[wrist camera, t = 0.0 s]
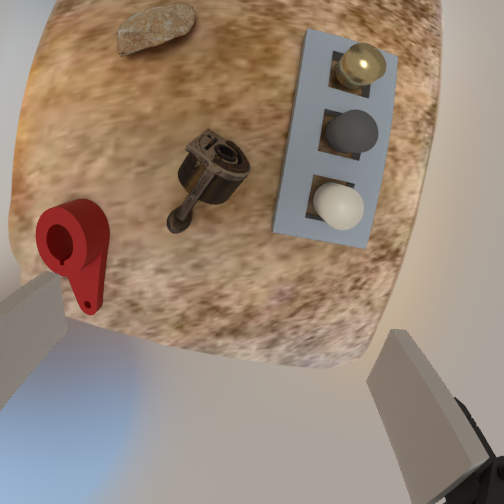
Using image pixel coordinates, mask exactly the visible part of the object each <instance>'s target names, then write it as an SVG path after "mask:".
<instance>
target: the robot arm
mask: <svg viewBox="0 0 504 504" xmlns="http://www.w3.org/2000/svg"><path fill="white" fill-rule="evenodd" d="M67 332H68V329H67V323H66V318H65V312H64V306H63V299H62V292H61V285H60V276H59V274H57V273H53V272H50V271H45V272H43V273H42V274H40V275H39V276H37V277H36V278H34V279H33V280H31V281H30V282H28V283H27V284H25V285H24V286H23V287H21V288H20V289H18V290H17V291H16V292H14V293H13V294H11V295H10V296H9V297H7V298H6V299H4V300H3V301H2V302H0V411H1V410H2V408H3V407H4V406H5V404H6V403H7V402H8V400H9V399H10V398H11V397H12V395H13V394H14V393H15V392H16V390H17V389H18V388H19V386H20V385H21V384H22V383H23V382H24V381H25V379H26V378H27V377H28V376H29V375H30V373H31V372H32V371H33V370H34V368H35V367H36V366H37V365H38V364H39V363H40V362H41V360H42V359H43V358H44V357H45V356H46V355H47V354H48V352H49V351H50V350H51V349H52V348H53V347H54V346H55V345H56V344H57V342H58V341H59V340H60V339H61V338H62V337H63V336H64V335H65V334H66V333H67ZM366 382H367V384H368V387H369V389H370V391H371V394H372V396H373V399H374V401H375V404H376V406H377V409H378V411H379V414H380V416H381V419H382V421H383V424H384V426H385V429H386V432H387V434H388V436H389V439H390V442H391V445H392V447H393V450H394V453H395V455H396V458H397V461H398V464H399V467H400V469H401V472H402V475H403V478H404V481H405V483H406V487H407V490H408V493H409V495H410V498H411V501H412V504H435V503H436V502H438V501H439V500H441V499H442V498H443V497H445V498H446V502H445V503H443V504H504V456H500V457H496V456H495V454H494V453H493V451H492V449H491V447H490V446H489V444H488V443H487V440H486V439H485V437H484V436H483V434H482V432H481V430H480V429H479V427H478V426H476V422H475V421H474V419H473V418H471V414H470V413H469V412H468V410H467V408H466V407H465V405H463V404H462V403H461V402H460V401H459V400H458V399H457V398H456V397H453V396H452V394H451V393H450V391H449V390H448V389H447V387H446V385H445V384H444V382H443V381H442V380H441V378H440V377H439V375H438V374H437V372H436V371H435V369H434V368H433V367H432V365H431V364H430V362H429V361H428V359H427V358H426V356H425V355H424V354H423V353H422V351H421V350H420V348H419V347H418V345H417V344H416V343H415V341H414V340H413V339H412V337H411V336H410V335H409V333H408V332H407V331H406V330H399V329H391V330H390V332H389V334H388V337H387V339H386V341H385V343H384V346H383V348H382V350H381V352H380V354H379V356H378V358H377V360H376V363H375V365H374V367H373V369H372V371H371V373H370V375H369V376H368V378H367V380H366Z"/></svg>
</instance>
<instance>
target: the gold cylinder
mask: <svg viewBox="0 0 504 504" xmlns="http://www.w3.org/2000/svg"><path fill="white" fill-rule="evenodd" d="M385 72H386V61H385V58H384V56H383V55H382V53H381V52H380V51H379V50H378V49H377V48H375V47H374V46H372V45H370V44H367V43H356V44H354V45H352V46H351V47H350V48H349V49H348V50H347V52H346V53H345V54H344V55H343V56H342V57H341V58H340V59H339V61H338V62H337V63H336V66H335V74H336V77H337V79H338V80H339V82H340V83H341V84H342V85H344V86H345V87H347V88H349V89H353V90H359V89H362V88H364V87H366V86H368V85H369V84H371V83H372V82H374V81H376V80H378V79H379V78H381V77H382V76H383V75H384V74H385Z"/></svg>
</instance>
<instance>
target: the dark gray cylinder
mask: <svg viewBox="0 0 504 504" xmlns="http://www.w3.org/2000/svg"><path fill="white" fill-rule="evenodd" d="M378 134H379V133H378V127H377V124H376V122H375V120H374V119H373V118H372V117H371V116H370V115H369V114H368V113H366V112H365V111H362V110H357V109H354V110H349V111H347V112H345V113H343V114H341V115H339V116H337V117H335V118H333V119H332V120H331V121H330V122H329V123H328V125H327V127H326V139H327V141H328V143H329V145H330V146H331V147H332V148H333V149H334V150H336V151H338V152H341V153H361V152H366V151H369V150H370V149H372V148H373V147H374V146H375V144H376V142H377V140H378Z"/></svg>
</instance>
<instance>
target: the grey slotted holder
mask: <svg viewBox="0 0 504 504" xmlns="http://www.w3.org/2000/svg"><path fill="white" fill-rule="evenodd" d="M356 43H359V42H356V41H353V40H350V39H347V38H343V37H340V36H336V35H333V34H329V33H325V32H321V31H317V30H312V29H308V28H307V31H306V33H305V36H304V39H303V46H302V52H301V58H300V65H299V71H298V77H297V83H296V89H295V96H294V102H293V108H292V114H291V119H290V125H289V131H288V137H287V143H286V149H285V154H284V160H283V166H282V172H281V177H280V183H279V188H278V194H277V200H276V205H275V211H274V216H273V221H272V232H273V233H278V234H284V235H290V236H296V237H301V238H307V239H313V240H319V241H324V242H330V243H336V244H341V245H347V246H352V247H358V248H363V249H366V246H367V242H368V239H369V235H370V231H371V227H372V223H373V219H374V214H375V210H376V206H377V201H378V197H379V192H380V187H381V182H382V177H383V172H384V167H385V161H386V155H387V150H388V143H389V137H390V130H391V123H392V115H393V107H394V98H395V88H396V76H397V62H398V57H397V56H395V55H393V54H390V53H387V52H385V51H382V50H380V49H378V50H379V51H380V52H381V53H382V55H383V56H384V58H385V61H386V72H385V74H384V75H383V76H382V77H381V78H379V79H378V80H376V81H374V82H372V83H371V84H369V85H368V86H366V87H364V88H363V89H362V97H361V96H358V95H355V94H351V93H348V92H344V91H341V90H337V89H333V88H330V87H328V84H329V76H330V69H331V62H332V59H333V60H337V61H339V59H340V58H341V57H342V56H343V55H344V54H345V53H346V52H347V50H348V49H349V48H350V47H351V46H352V45H354V44H356ZM354 109H357V110H362V111H365V112H366V113H368V114H369V115H370V116H371V117H372V118H373V119H374V120H375V122H376V124H377V127H378V133H379V134H378V140H377V142H376V144H375V146H374V147H373V148H372V149H370V150H369V151H366V152H361V153H353V155H352V159H350V158H346V157H342V156H338V155H333V154H329V153H325V152H320V151H318V146H319V141H320V135H321V129H322V123H323V116H324V114H328V115H332V116H336V117H337V116H339V115H341V114H343V113H345V112H347V111H349V110H354ZM313 174H314V175H319V176H323V177H328V178H332V179H337V180H341V181H345V182H347V187H350V188H352V189H354V190H356V191H357V192H358V193H359V194H360V196H361V197H362V199H363V203H364V213H363V216H362V218H361V220H360V222H359V223H358V224H357V225H356V226H354V227H353V228H351V229H348V230H338V229H335V228H333V227H331V226H330V225H329V224H328V223H327V222H326V221H325V220H324V219H323V218H322V217H319V216H314V215H309V214H306V210H307V205H308V200H309V195H310V190H311V185H312V179H313Z"/></svg>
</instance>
